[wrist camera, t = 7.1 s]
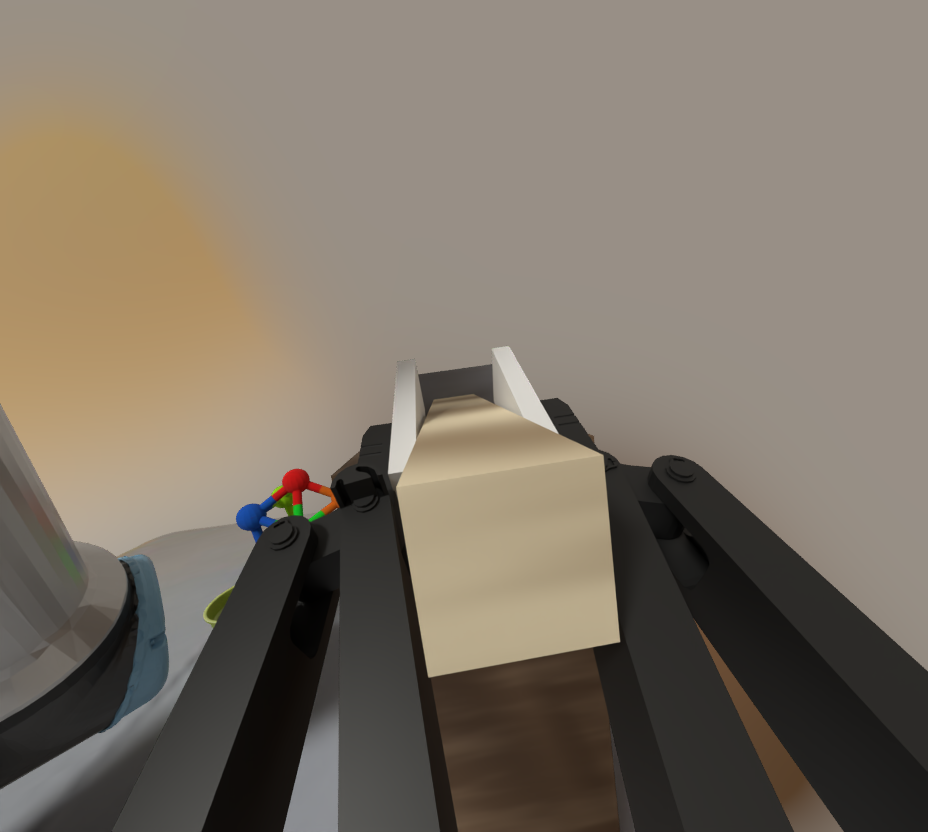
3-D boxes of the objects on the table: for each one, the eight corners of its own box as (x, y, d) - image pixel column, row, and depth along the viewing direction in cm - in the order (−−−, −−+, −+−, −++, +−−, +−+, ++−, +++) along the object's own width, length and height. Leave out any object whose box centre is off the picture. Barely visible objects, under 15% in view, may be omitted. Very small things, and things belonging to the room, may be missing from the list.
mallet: (420, 427, 33) (412, 377, 32) (489, 417, 33) (482, 367, 32) (294, 702, 5) (217, 363, 4) (741, 619, 5) (728, 295, 5)
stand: (425, 686, 36) (381, 432, 33) (555, 661, 37) (526, 410, 34) (413, 898, 21) (330, 475, 18) (631, 850, 22) (593, 435, 19)
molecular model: (374, 539, 72) (351, 454, 69) (329, 590, 58) (297, 486, 54) (299, 541, 79) (274, 463, 75) (242, 587, 64) (207, 494, 60)
